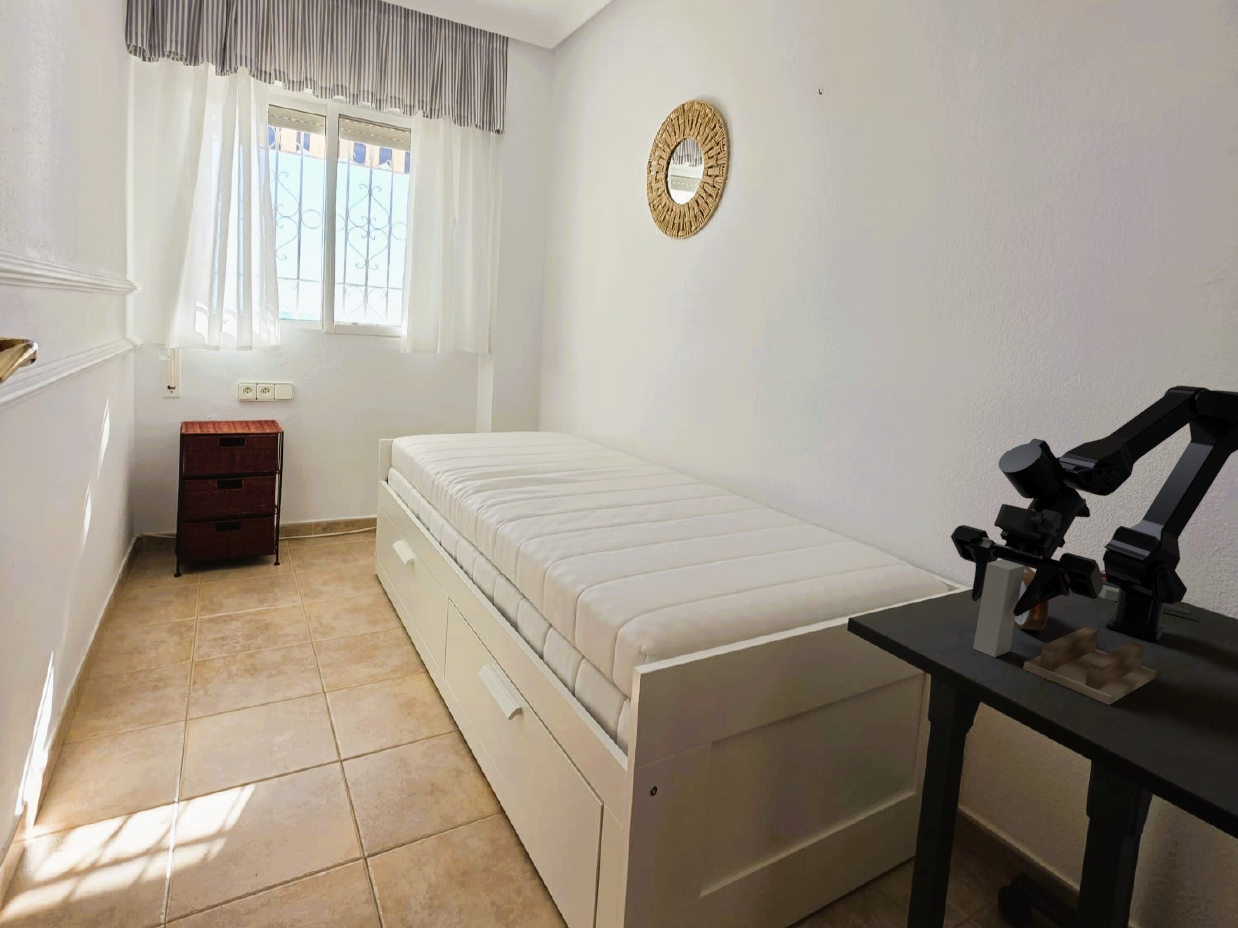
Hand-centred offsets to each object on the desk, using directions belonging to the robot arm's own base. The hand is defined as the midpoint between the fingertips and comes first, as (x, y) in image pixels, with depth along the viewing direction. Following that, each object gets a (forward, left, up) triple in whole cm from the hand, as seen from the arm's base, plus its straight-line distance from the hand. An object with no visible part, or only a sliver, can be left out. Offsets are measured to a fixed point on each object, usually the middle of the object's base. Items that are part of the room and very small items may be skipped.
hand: (993, 606), depth 94 cm
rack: (-4, +11, -7) cm, 14 cm away
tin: (-17, -1, -7) cm, 19 cm away
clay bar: (-1, 0, -7) cm, 7 cm away
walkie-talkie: (-46, +8, -7) cm, 47 cm away
